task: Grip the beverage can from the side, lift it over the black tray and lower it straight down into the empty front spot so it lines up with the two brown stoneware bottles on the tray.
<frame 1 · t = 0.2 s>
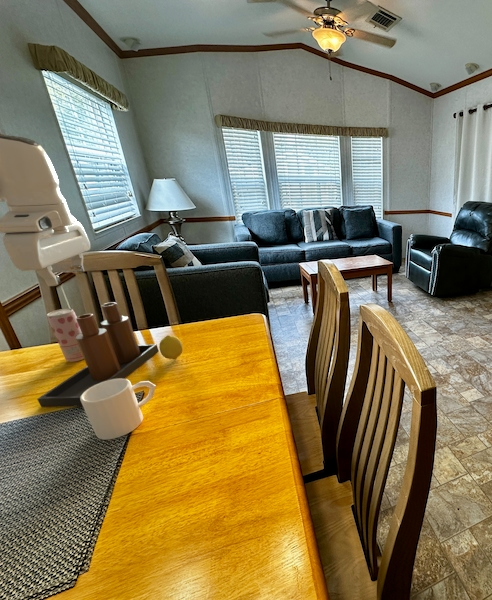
hand: (67, 278, 76), 29 cm above the table, tool pointing down, fingers open, 8 cm apart
bottle middle: (96, 347, 86), in the tray
lemon: (174, 359, 98), on the table
mug: (132, 422, 73), on the table
bottle back: (129, 359, 97), resting on tray
tray: (107, 375, 90), on the table
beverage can: (79, 357, 99), on the table
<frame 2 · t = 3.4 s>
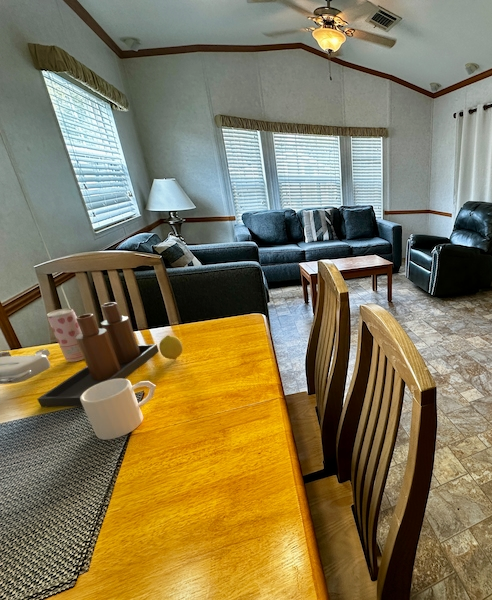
hand: (26, 352, 84), 9 cm above the table, tool horizontal, fingers open, 8 cm apart
nothing on the table moved.
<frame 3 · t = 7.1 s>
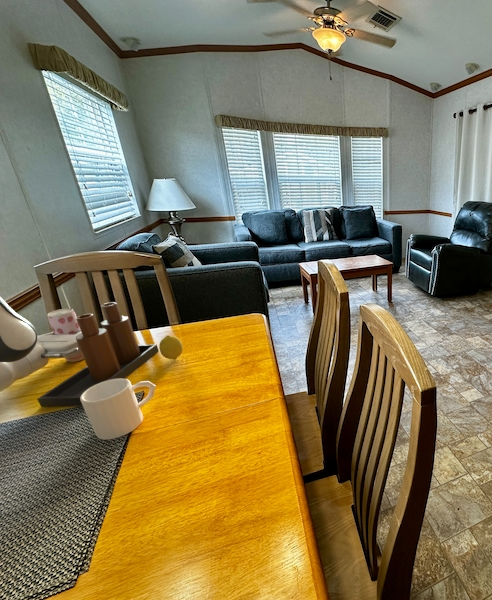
hand: (71, 332, 96), 8 cm above the table, tool horizontal, fingers closed on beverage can, 5 cm apart
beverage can: (79, 357, 99), on the table, touching gripper
everything else where it was.
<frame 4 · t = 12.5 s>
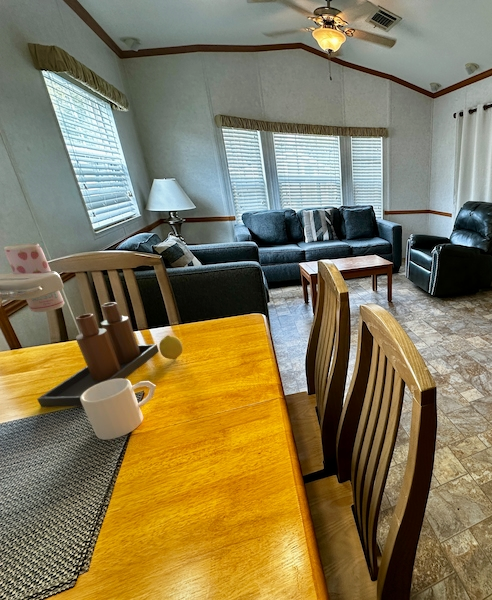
hand: (38, 274, 75), 30 cm above the table, tool horizontal, fingers closed on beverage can, 5 cm apart
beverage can: (49, 308, 78), point 22 cm above the table, touching gripper
everything else where it was.
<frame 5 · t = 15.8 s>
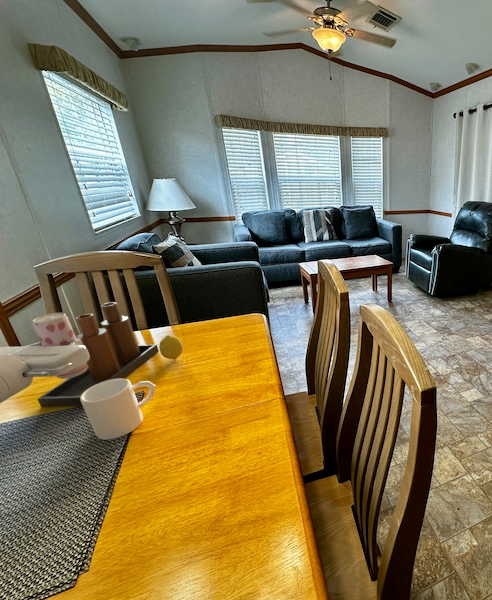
hand: (64, 342, 78), 14 cm above the table, tool horizontal, fingers closed on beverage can, 5 cm apart
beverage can: (73, 373, 80), point 6 cm above the table, touching gripper
everything else where it was.
when the fingers open (9 cm above the table, at t = 18.4 s): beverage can stays where it is, resting on tray.
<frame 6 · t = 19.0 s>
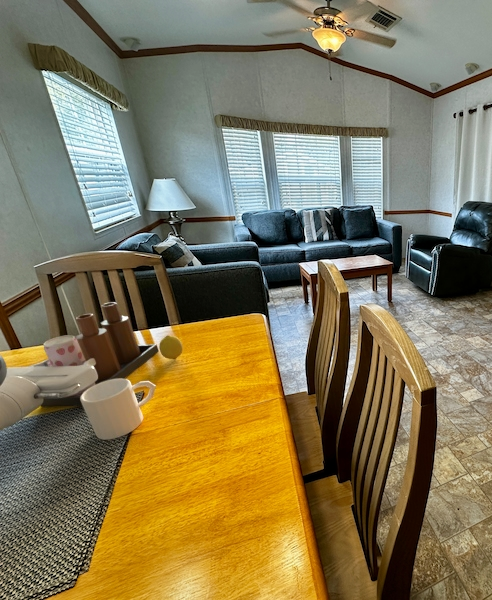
hand: (72, 361, 80), 9 cm above the table, tool horizontal, fingers open, 8 cm apart
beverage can: (82, 393, 82), resting on tray
everything else where it was.
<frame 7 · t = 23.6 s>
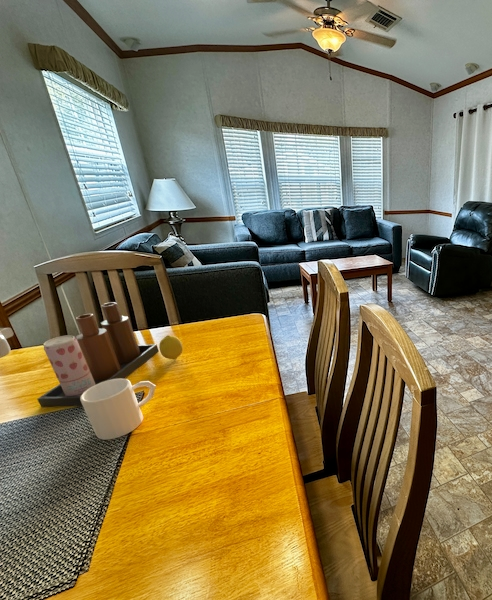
nothing on the table moved.
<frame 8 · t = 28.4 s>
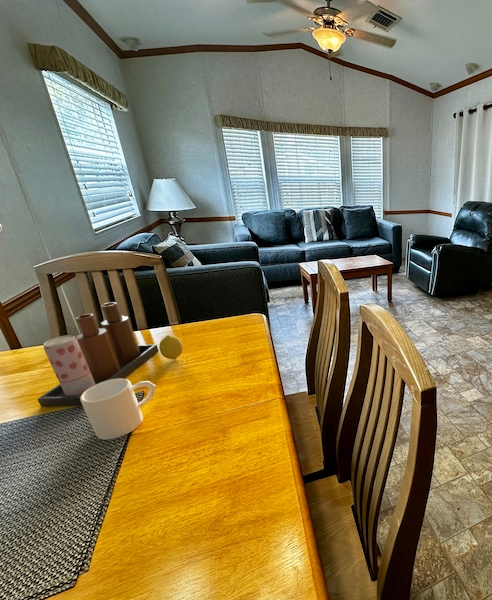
nothing on the table moved.
at the end: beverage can 0.1 cm from the target spot in the tray, point 0.3 cm above the tray's base; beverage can tilted 0°; the gripper is holding nothing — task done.
